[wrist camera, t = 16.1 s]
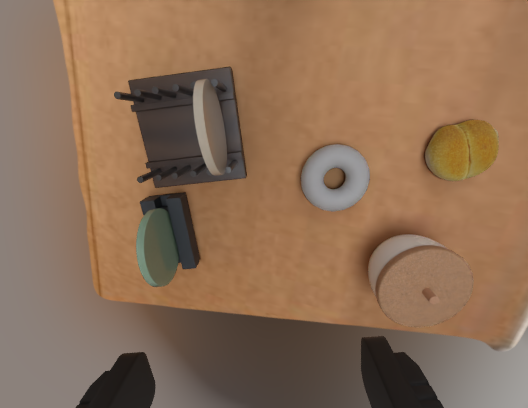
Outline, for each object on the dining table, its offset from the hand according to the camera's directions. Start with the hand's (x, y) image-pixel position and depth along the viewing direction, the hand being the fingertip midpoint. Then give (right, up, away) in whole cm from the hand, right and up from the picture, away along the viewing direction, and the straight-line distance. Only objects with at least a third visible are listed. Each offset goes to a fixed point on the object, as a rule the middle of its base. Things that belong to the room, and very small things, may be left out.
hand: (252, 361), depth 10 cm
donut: (+11, +10, +30) cm, 34 cm away
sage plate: (-14, +2, +33) cm, 36 cm away
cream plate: (-6, +17, +27) cm, 32 cm away
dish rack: (-10, +17, +29) cm, 35 cm away
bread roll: (+29, +14, +29) cm, 43 cm away
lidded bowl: (+23, -3, +34) cm, 41 cm away
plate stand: (-14, +2, +34) cm, 37 cm away
